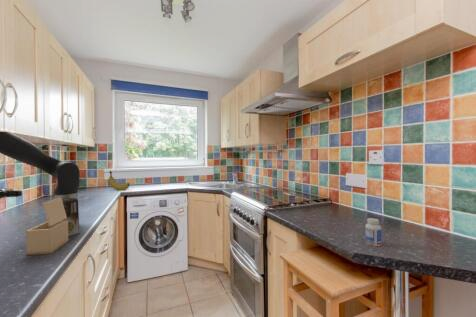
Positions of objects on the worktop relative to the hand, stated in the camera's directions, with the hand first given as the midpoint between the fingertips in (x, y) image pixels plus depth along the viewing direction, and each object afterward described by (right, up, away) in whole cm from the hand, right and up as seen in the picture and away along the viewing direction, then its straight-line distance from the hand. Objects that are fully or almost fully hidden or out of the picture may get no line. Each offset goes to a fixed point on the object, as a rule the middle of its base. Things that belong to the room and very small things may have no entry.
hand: (20, 193), depth 84 cm
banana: (-39, -20, +142) cm, 149 cm away
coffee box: (+5, -22, +16) cm, 28 cm away
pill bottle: (+138, -21, +3) cm, 140 cm away
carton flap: (+13, -12, +3) cm, 18 cm away
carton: (+9, -22, +2) cm, 24 cm away
